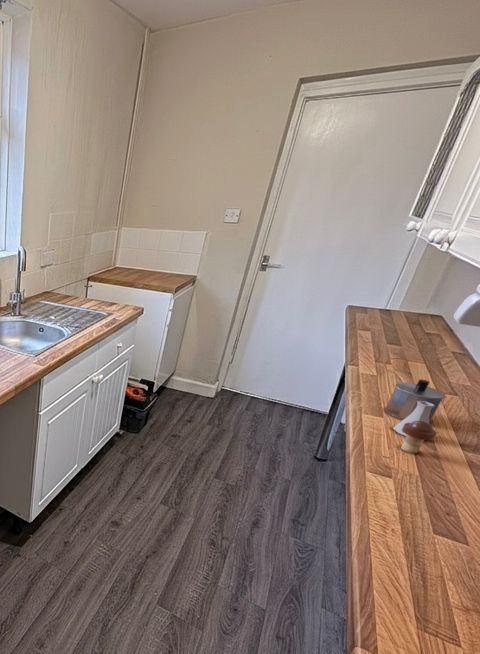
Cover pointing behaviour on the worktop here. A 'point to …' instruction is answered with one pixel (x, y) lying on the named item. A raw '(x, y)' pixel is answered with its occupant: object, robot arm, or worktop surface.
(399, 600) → the worktop surface
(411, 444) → the mushroom
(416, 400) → the pot
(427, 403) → the flask
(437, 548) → the worktop surface
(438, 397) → the pot lid
